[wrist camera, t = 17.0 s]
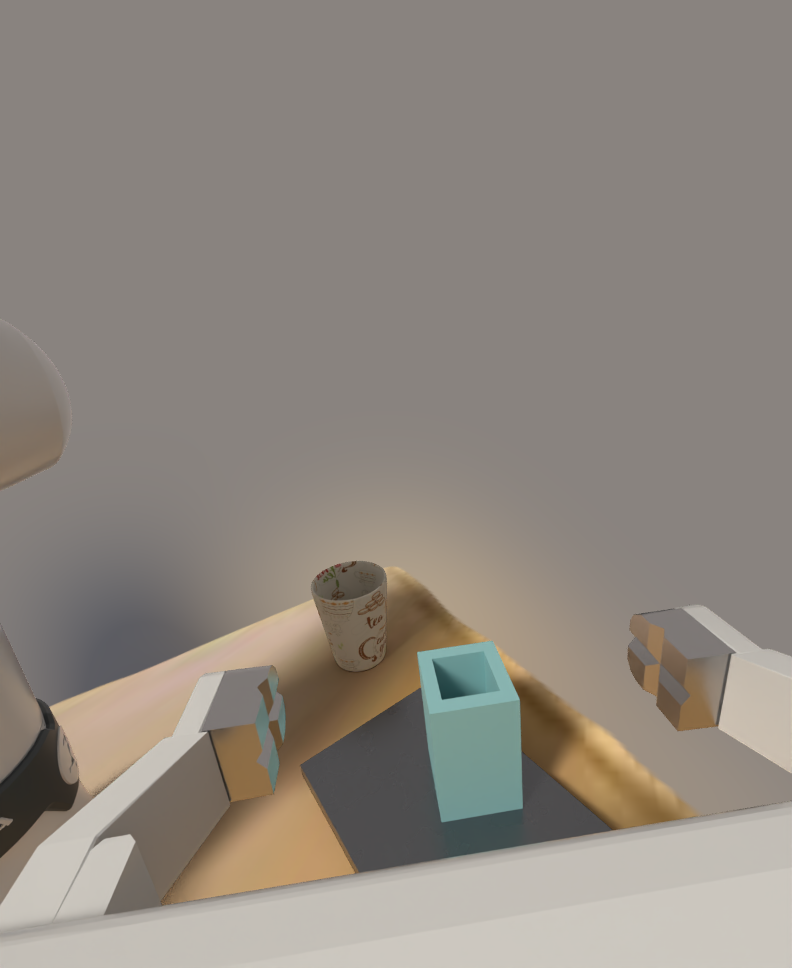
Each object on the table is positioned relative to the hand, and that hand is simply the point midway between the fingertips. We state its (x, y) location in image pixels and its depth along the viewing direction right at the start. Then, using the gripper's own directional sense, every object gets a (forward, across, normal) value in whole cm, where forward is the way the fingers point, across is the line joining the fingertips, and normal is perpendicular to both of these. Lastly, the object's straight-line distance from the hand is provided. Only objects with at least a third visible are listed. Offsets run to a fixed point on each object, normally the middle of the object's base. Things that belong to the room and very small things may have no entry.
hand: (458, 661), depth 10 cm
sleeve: (+17, -4, +26) cm, 31 cm away
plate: (+15, -1, +27) cm, 31 cm away
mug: (+36, +6, +28) cm, 46 cm away
